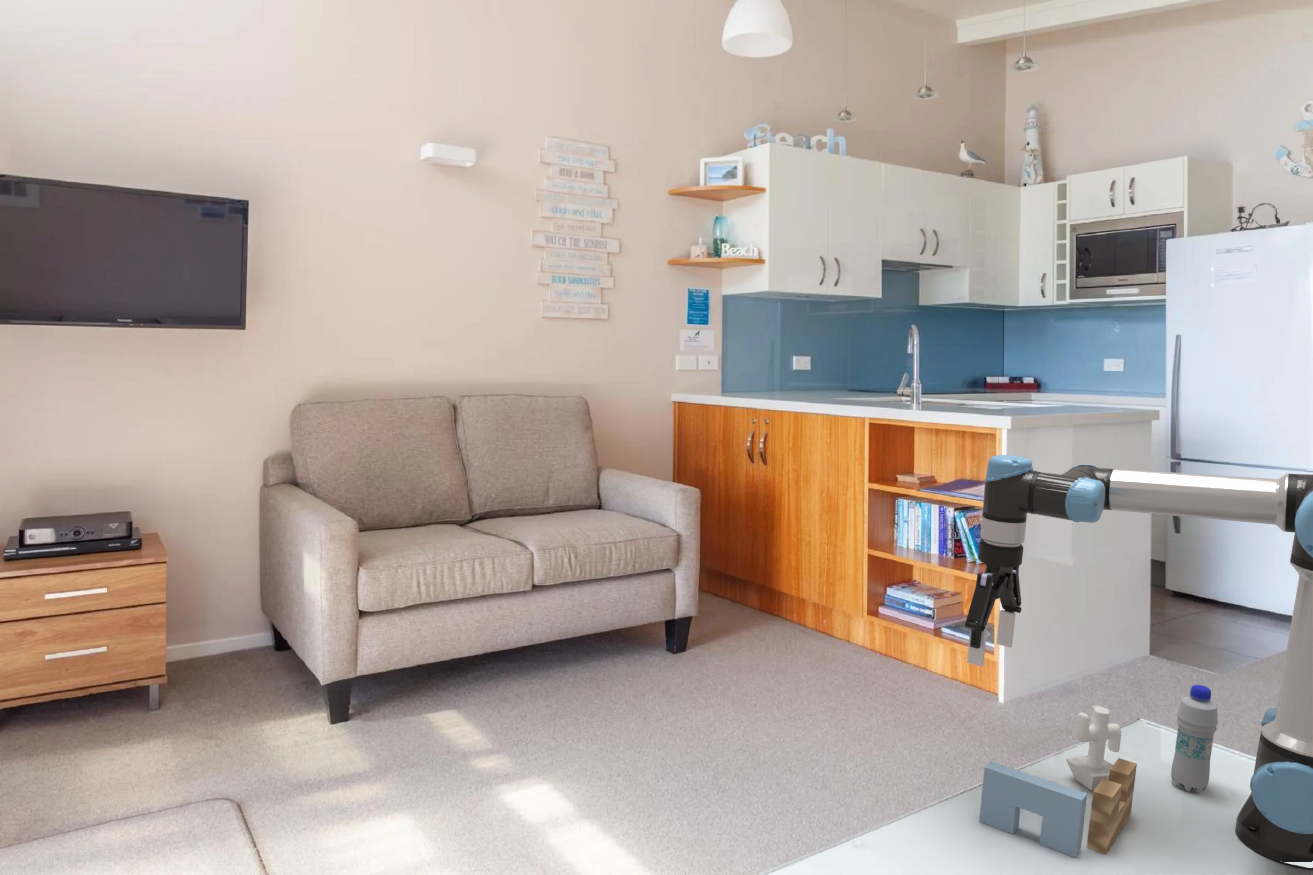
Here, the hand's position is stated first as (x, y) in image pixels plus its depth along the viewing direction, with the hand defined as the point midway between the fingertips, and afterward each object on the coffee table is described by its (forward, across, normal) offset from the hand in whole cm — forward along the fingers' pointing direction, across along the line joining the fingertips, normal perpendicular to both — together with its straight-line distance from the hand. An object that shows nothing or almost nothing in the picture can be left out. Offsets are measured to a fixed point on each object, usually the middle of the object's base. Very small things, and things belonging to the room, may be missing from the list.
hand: (990, 654), depth 178 cm
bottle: (+25, -28, +30) cm, 48 cm away
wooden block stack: (+25, 0, +23) cm, 34 cm away
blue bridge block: (+25, +11, +14) cm, 31 cm away
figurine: (+26, -16, +16) cm, 34 cm away
